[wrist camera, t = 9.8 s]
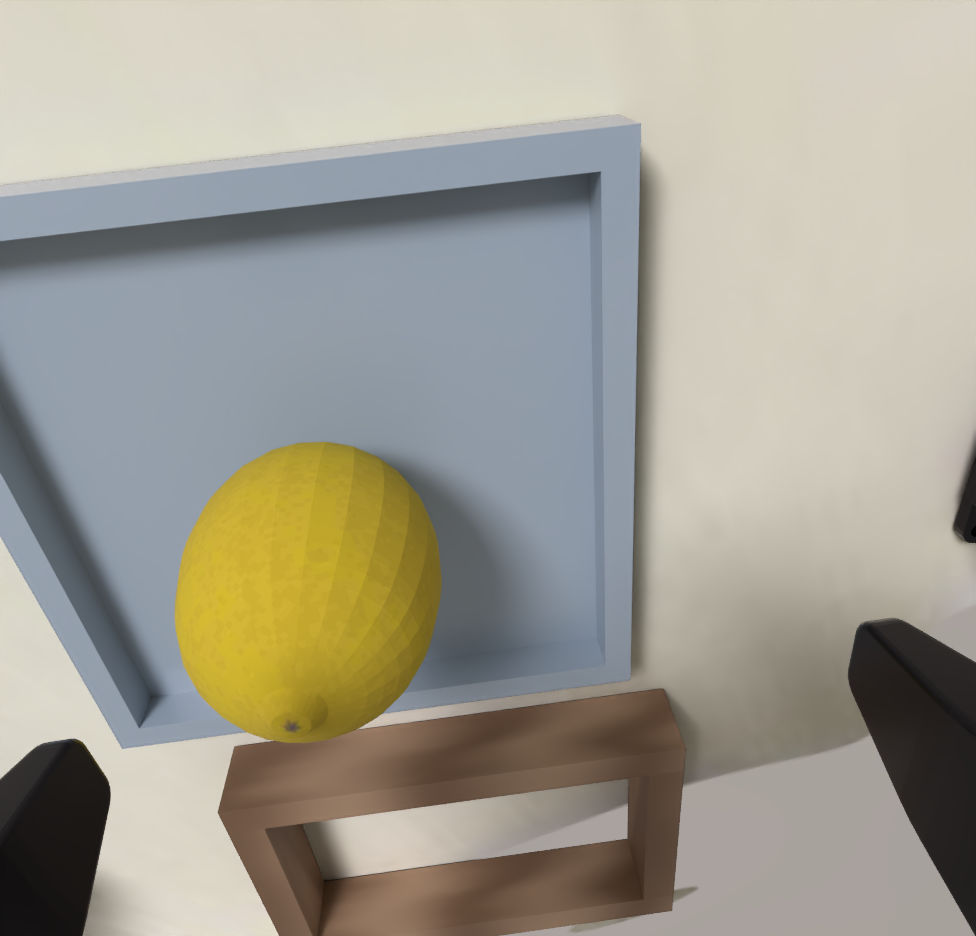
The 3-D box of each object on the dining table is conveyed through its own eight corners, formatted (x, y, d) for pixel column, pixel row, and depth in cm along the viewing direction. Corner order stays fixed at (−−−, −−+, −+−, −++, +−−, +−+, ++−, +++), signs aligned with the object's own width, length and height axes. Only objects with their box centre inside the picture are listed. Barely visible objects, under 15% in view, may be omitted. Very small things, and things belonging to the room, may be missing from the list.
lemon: (465, 520, 20) (495, 769, 13) (290, 585, 21) (234, 854, 14) (381, 353, 17) (365, 561, 10) (180, 434, 18) (42, 680, 11)
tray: (618, 114, 16) (640, 123, 14) (616, 638, 24) (630, 680, 22) (-123, 199, 15) (-184, 218, 14) (141, 702, 24) (122, 748, 22)
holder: (663, 688, 25) (685, 748, 23) (654, 850, 31) (671, 910, 29) (234, 746, 25) (217, 812, 23) (302, 900, 31) (293, 964, 28)
